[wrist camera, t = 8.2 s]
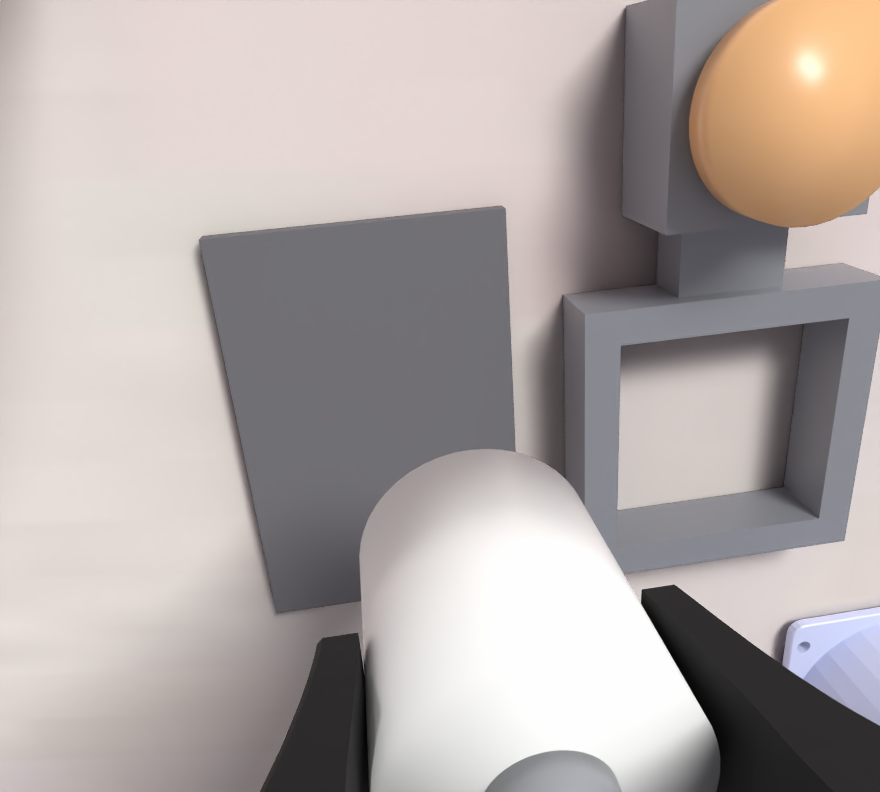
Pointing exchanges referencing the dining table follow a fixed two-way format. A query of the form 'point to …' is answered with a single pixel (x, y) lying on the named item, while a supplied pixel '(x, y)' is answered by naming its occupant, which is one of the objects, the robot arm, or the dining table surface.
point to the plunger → (792, 112)
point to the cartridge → (514, 644)
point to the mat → (357, 373)
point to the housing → (712, 322)
